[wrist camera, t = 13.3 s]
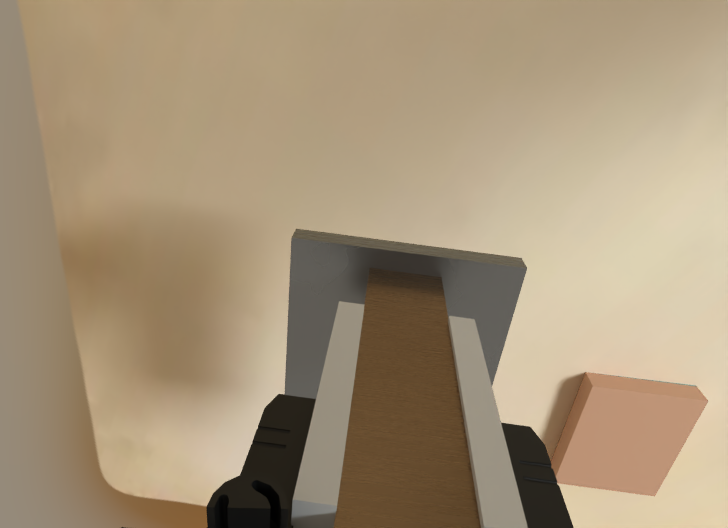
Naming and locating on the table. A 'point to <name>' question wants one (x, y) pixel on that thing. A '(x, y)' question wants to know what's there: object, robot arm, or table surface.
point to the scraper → (399, 367)
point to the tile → (625, 433)
